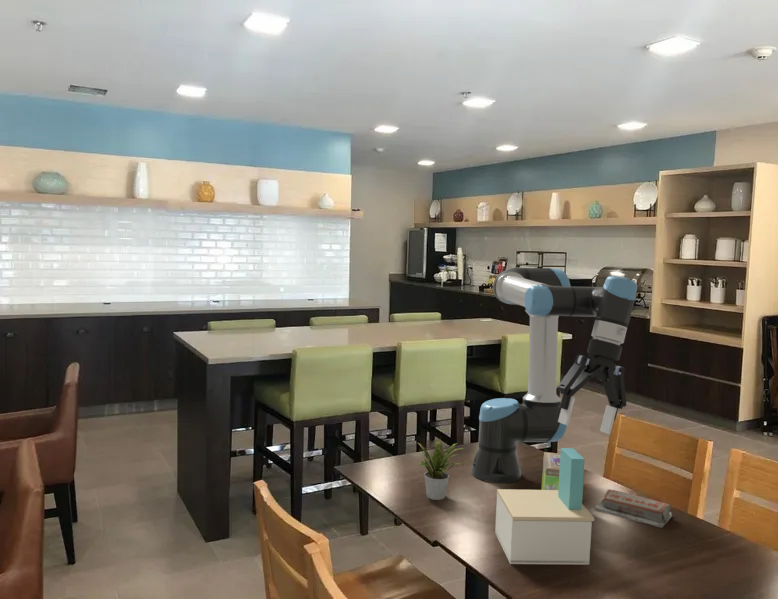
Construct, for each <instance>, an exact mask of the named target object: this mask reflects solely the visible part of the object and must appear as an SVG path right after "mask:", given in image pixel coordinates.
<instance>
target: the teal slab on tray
mask: <svg viewBox="0 0 778 599" xmlns="http://www.w3.org/2000/svg"><path fill="white" fill-rule="evenodd" d="M559 454H560V472H559V490H541V489H511V488H510V489H509V488H507V489H505V488H504V489H501V488H498V489H497V488H496V494H498V495H499V497H500V499H501V500H502V502H503V504H504V506H505V508H506V509H507V511H508V513H509V515H510V516H511V518H512V520H541V521H592V522H595V517H594V516H593V514H592V513H591V512H590V511H589V510H588V509H587V507H586V506H585V505H584V504H583V497H582V495H584V484H583V478H584V479H585V458H584V456H582V455H581V454H580V453H579V452H578V451H577V450H576V449H574V448H573V447H561V448H560V453H559Z"/></svg>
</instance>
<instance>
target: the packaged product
mask: <svg viewBox="0 0 778 599" xmlns="http://www.w3.org/2000/svg"><path fill="white" fill-rule="evenodd" d="M594 510H595V511H597V510H598V512H601V511H602V513H605V512H606V513H607V514H610V515H612V514H613V516H616V517H620V518H623V519H627V520H631V521H634V522H638V523H643V524H646V525H650V526H653V527H658V528H660V529H662V528H664V526H665V525H666V524H667V523H668V522H669V521H670V520H671V518H672V517H673V515H672V511H671V505H670V503H667V502H663V501H659V500H655V499H651V498H647V497H643V496H639V495H635V494H633V493H632V494H631V493H629V492H623V491H619V490H616V489H607V490H606V493H605V494H604V495H603V499H602V500H601V501H600V502H598V503H597V504H596V505H595V506H594Z"/></svg>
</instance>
